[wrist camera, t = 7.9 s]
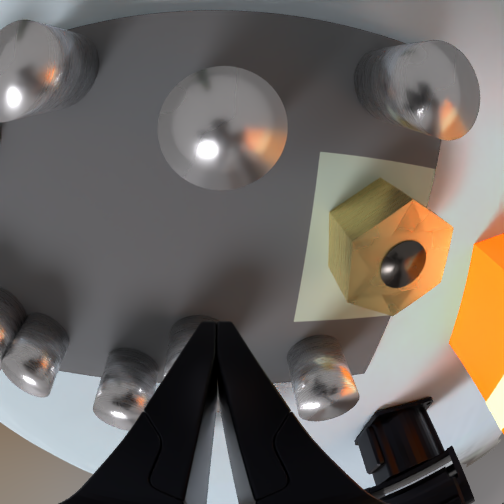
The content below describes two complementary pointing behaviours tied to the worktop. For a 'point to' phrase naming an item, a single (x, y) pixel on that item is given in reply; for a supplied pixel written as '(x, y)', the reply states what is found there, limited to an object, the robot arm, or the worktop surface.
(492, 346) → the orange juice
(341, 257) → the nut
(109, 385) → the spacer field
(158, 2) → the worktop surface
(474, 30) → the worktop surface
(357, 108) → the mat
